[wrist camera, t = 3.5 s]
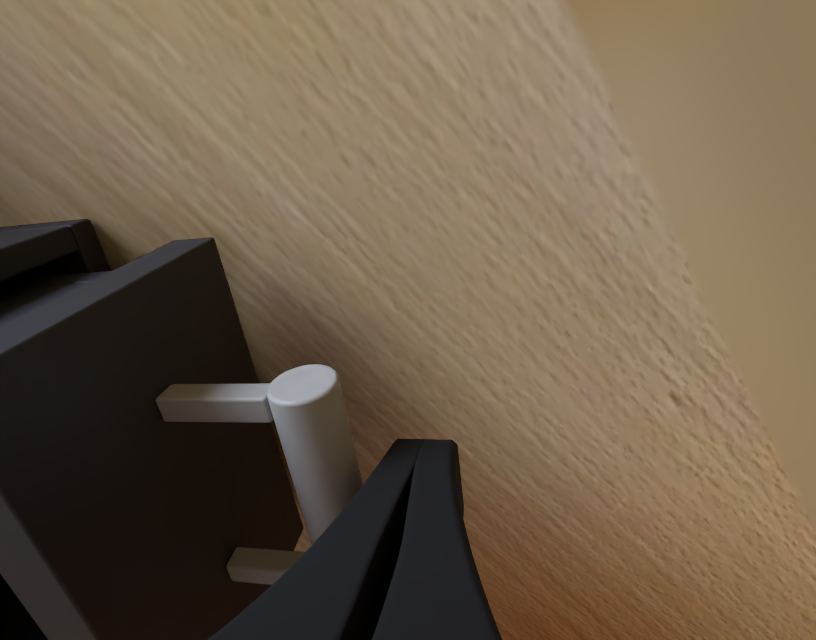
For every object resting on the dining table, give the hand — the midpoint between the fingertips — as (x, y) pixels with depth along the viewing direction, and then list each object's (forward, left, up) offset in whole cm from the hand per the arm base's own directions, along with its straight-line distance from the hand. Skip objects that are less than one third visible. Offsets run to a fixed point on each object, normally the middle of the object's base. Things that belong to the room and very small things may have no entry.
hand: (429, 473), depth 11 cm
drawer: (0, +8, -3) cm, 9 cm away
